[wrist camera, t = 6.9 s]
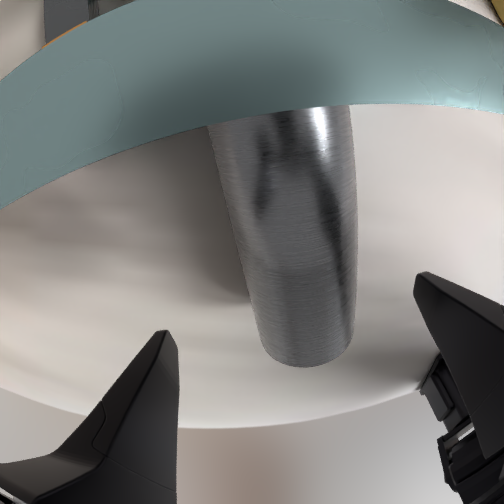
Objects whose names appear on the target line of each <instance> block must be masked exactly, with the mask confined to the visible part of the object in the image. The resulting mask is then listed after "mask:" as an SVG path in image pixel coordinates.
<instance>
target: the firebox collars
mask: <svg viewBox="0 0 504 504" xmlns="http://www.w3.org/2000/svg"><path fill="white" fill-rule="evenodd" d="M44 23H45V39H46V45H44V46H43V47H42V49H41V50H40V51H38V52H37V53H36V54H34V55H33V56H31V57H30V58H29V59H27V60H26V61H25V62H23V63H22V64H21V65H19V66H18V67H17V68H16V69H14V70H13V71H12V72H11V73H9V74H8V75H7V76H6V77H5V78H4V79H2V80H1V81H0V209H2V208H4V207H5V206H7V205H9V204H10V203H12V202H14V201H15V200H17V199H19V198H21V197H22V196H24V195H26V194H28V193H30V192H32V191H34V190H35V189H37V188H39V187H41V186H43V185H45V184H47V183H49V182H51V181H53V180H55V179H57V178H59V177H62V176H64V175H66V174H68V173H70V172H72V171H75V170H77V169H79V168H82V167H84V166H86V165H89V164H91V163H93V162H96V161H98V160H101V159H103V158H106V157H108V156H111V155H114V154H116V153H119V152H122V151H124V150H127V149H130V148H133V147H136V146H139V145H142V144H145V143H148V142H151V141H154V140H157V139H161V138H164V137H167V136H171V135H174V134H178V133H181V132H185V131H189V130H192V129H196V128H200V127H204V126H208V125H212V124H217V123H221V122H226V121H230V120H235V119H240V118H245V117H251V116H256V115H262V114H268V113H274V112H281V111H288V110H296V109H304V108H313V107H324V106H336V105H353V104H423V105H439V106H450V107H460V108H468V109H475V110H482V111H488V112H494V113H499V114H504V27H502V26H500V25H499V24H497V23H495V22H493V21H491V20H489V19H488V18H486V17H484V16H482V15H480V14H478V13H476V12H473V11H471V10H469V9H467V8H465V7H462V6H460V5H458V4H455V3H453V2H450V1H448V0H136V1H133V2H131V3H128V4H126V5H123V6H121V7H118V8H116V9H114V10H111V11H109V12H107V13H105V14H103V15H101V16H99V10H98V0H44Z"/></svg>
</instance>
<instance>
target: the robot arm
mask: <svg viewBox="0 0 504 504" xmlns="http://www.w3.org/2000/svg"><path fill="white" fill-rule="evenodd" d="M413 295H414V298H415V301H416V303H417V305H418V307H419V309H420V312H421V314H422V316H423V318H424V321H425V323H426V325H427V327H428V329H429V331H430V333H431V335H432V337H433V339H434V341H435V343H436V344H437V346H438V348H439V350H440V352H441V354H440V355H439V356H438V357H437V358H436V360H435V362H434V364H433V367H432V369H431V371H430V373H429V375H428V377H427V379H426V381H425V382H424V384H423V386H422V388H421V390H420V394H421V395H424V394H425V396H426V397H427V399H428V401H429V403H430V405H431V407H432V409H433V411H434V414H435V416H436V418H437V420H438V421H440V422H441V421H443V422H444V424H445V426H446V428H447V430H448V433H447V434H446V435H444V436H441V437H440V438H438V439H437V443H438V450H439V453H440V458H441V462H442V466H443V471H444V479H445V483H447V484H449V486H450V487H451V489H452V490H453V491H454V492H458V493H459V495H460V497H461V499H462V501H463V504H504V306H503V305H500V304H499V303H497V302H495V301H492V300H490V299H488V298H486V297H484V296H482V295H480V294H477V293H475V292H473V291H471V290H469V289H466V288H464V287H462V286H460V285H457V284H455V283H453V282H450V281H448V280H446V279H443V278H441V277H439V276H436V275H434V274H432V273H429V272H426V271H425V272H422V273H419V274H417V276H416V279H415V284H414V290H413ZM178 407H179V364H178V348H177V345H176V343H175V341H174V339H173V338H172V336H171V334H170V332H169V331H168V330H160V331H156V332H155V333H154V335H153V336H152V337H151V338H150V340H149V341H148V342H147V343H146V344H145V346H144V347H143V348H142V349H141V351H140V352H139V353H138V354H137V355H136V357H135V358H134V359H133V360H132V362H131V363H130V364H129V365H128V367H127V368H126V369H125V370H124V372H123V373H122V374H121V375H120V377H119V378H118V379H117V380H116V382H115V383H114V384H113V385H112V387H111V388H110V389H109V390H108V392H107V393H106V394H105V395H104V397H103V398H102V401H100V402H99V403H98V404H97V406H96V407H95V408H94V409H93V410H92V412H91V413H90V414H89V415H88V417H87V418H86V419H85V420H84V421H83V422H82V423H81V424H80V426H79V427H78V428H77V429H76V430H75V431H74V432H73V433H72V434H71V435H70V436H69V437H68V438H67V439H66V440H65V442H64V443H63V444H62V445H61V446H60V447H59V448H58V449H57V450H55V451H54V452H52V453H50V454H48V455H45V456H41V457H36V458H32V459H27V460H22V461H17V462H11V463H0V487H1V488H2V489H4V490H5V491H7V492H8V493H10V494H11V495H13V499H12V498H10V497H8V496H6V495H4V494H2V493H0V504H177V496H176V495H177V493H176V460H177V458H176V457H177V427H178ZM472 427H474V429H475V430H473V431H472V432H471V433H470V434H468V435H467V436H465V437H464V438H463V439H461V440H460V441H459V440H458V438H459V437H460V436H462V435H463V434H464V433H466V432H467V431H468V430H470V429H471V428H472Z"/></svg>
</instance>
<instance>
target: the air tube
mask: <svg viewBox="0 0 504 504" xmlns="http://www.w3.org/2000/svg"><path fill="white" fill-rule="evenodd" d="M208 131H209V135H210V139H211V143H212V147H213V152H214V156H215V160H216V164H217V168H218V172H219V177H220V181H221V185H222V189H223V193H224V197H225V201H226V205H227V209H228V213H229V217H230V221H231V225H232V229H233V233H234V237H235V241H236V245H237V249H238V253H239V257H240V261H241V265H242V269H243V273H244V277H245V280H246V284H247V288H248V292H249V296H250V300H251V304H252V307H253V311H254V315H255V319H256V323H257V326H258V330H259V334H260V338H261V341H262V344H263V347H264V349H265V350H266V351H267V353H268V354H269V355H270V356H271V357H272V358H274V359H275V360H277V361H279V362H281V363H283V364H286V365H289V366H294V367H313V366H318V365H322V364H325V363H327V362H329V361H331V360H333V359H335V358H336V357H338V356H339V355H340V354H341V353H343V352H344V350H345V349H346V348H347V347H348V345H349V344H350V342H351V339H352V336H353V329H354V318H355V304H356V286H357V256H358V219H357V189H356V172H355V158H354V147H353V136H352V127H351V119H350V111H349V105H336V106H324V107H313V108H304V109H296V110H288V111H281V112H274V113H268V114H262V115H256V116H251V117H245V118H240V119H235V120H230V121H226V122H221V123H217V124H212V125H208Z"/></svg>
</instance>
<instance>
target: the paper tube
mask: <svg viewBox="0 0 504 504" xmlns="http://www.w3.org/2000/svg"><path fill="white" fill-rule="evenodd" d="M491 2H492V4H493V6H494V8H495V10H496V12H497V14H498V15H499V17H500V19H501V20H502V22H503V24H504V0H491Z"/></svg>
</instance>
